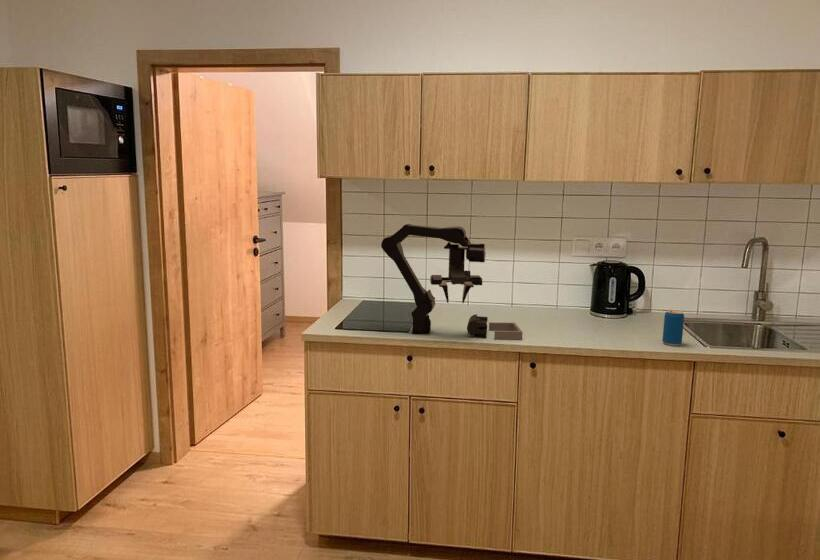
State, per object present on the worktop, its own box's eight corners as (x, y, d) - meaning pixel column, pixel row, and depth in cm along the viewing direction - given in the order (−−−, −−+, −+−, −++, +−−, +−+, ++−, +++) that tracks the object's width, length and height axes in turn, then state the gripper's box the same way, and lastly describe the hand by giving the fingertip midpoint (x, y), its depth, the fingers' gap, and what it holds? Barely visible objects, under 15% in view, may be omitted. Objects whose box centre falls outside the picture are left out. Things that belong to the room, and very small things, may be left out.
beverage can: (670, 340, 234) (673, 308, 231) (685, 345, 228) (688, 312, 226) (658, 342, 231) (661, 310, 228) (673, 347, 225) (676, 314, 223)
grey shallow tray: (494, 339, 231) (495, 331, 230) (488, 329, 245) (489, 322, 244) (522, 339, 231) (522, 331, 231) (514, 330, 245) (514, 322, 245)
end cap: (468, 331, 243) (469, 313, 242) (487, 332, 242) (487, 314, 241) (466, 337, 233) (467, 319, 232) (486, 338, 232) (486, 320, 231)
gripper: (432, 264, 224) (431, 307, 227) (485, 264, 225) (483, 308, 228) (430, 259, 235) (429, 300, 238) (480, 260, 236) (479, 301, 239)
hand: (455, 302), depth 235 cm, fingers open, 5 cm apart
